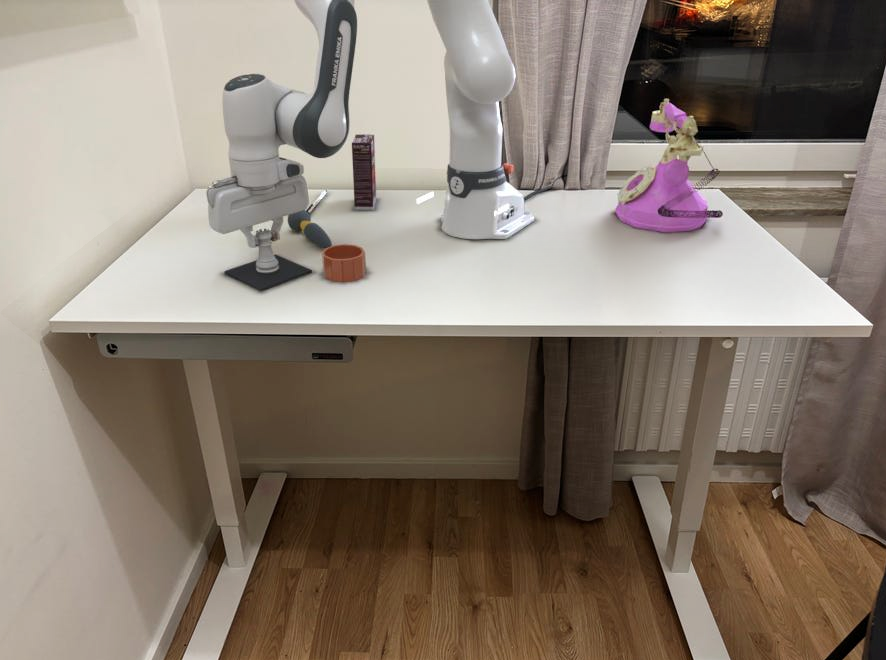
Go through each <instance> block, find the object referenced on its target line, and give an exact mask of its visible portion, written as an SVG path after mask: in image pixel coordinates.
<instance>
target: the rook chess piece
mask: <svg viewBox="0 0 886 660" xmlns="http://www.w3.org/2000/svg"><path fill="white" fill-rule="evenodd" d="M270 230H271V229H269V228H263V229H262V228H259V229H256V231H255V233H256V234H255V235H254V236H255V237H258V238H259V243H260V246H258V247H257V248H258V257H257V259H256V260H257V262H256V266H257V268H256V270H257V271H258V272H259V273H261V274H271V273H275V272H276V271H277V270H278V269H279V266H278V260H277V259H275V256H274V254H275V253H274V251H273V249H272V244H273V241H270V239H271V237H272V234H271V233H270Z"/></svg>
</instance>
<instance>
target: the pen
mask: <svg viewBox="0 0 886 660" xmlns="http://www.w3.org/2000/svg"><path fill="white" fill-rule="evenodd" d="M327 191H328V190H327V189H325V190H323V191H322V192H321V193H320V194H319V195H318V197H317V198H316V199H315V200H314V201H313V203H311V204H310V205H309V206H308V207H307V208H306V210H305V211H307V212H308V214H309V215H310V214H311V212H312V211H314V209H315V208H316V206H317V205H318V204H319V203H320V202H321V200H323V198H324V197H325V196H326V194H327Z"/></svg>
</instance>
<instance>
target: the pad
mask: <svg viewBox="0 0 886 660" xmlns="http://www.w3.org/2000/svg"><path fill="white" fill-rule="evenodd" d="M273 254H274V256H275V259H277V260H278V266H279V269H278V270H277V271H276V272H275V273H271V274H261V273H259V272H258V271H257V270H256V268H257V266H256V262H257V259H255V260H253V261H250V262H248V263H244V264H242V265H238V266H236V267H233V268H230V269H227V270H224V275H226V276H228V277H230V278H231V279H234V280H235V281H239V282H241V283H243V285H244V284H245V285H247V286H249V287H251V288H252V289H254V290H257V291H259V292H264V291H266V290H269V289H272V288H275V287H278V286H281V285H283V284H285V283H288V282H292V281H294V280H297V279H299V278H302V277H304V276H307V275H310V274H313V269H311V268H308V267H307V266H304V265H301V264H298V263H296V262H295V261H292V260H289V259H287V258H285V257H284V256H283V257H282V256H281V255H279V254H276V253H273Z"/></svg>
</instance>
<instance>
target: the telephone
mask: <svg viewBox="0 0 886 660" xmlns="http://www.w3.org/2000/svg"><path fill="white" fill-rule="evenodd" d="M694 117H695V116H693V115H689V116H688V115H687V113H686V112H685V111H683V110H681V109H680V108H677V106H676V105H674V104H673V103H671V102H670V99H669V98H664V99H663V102H660V105H659V110H654V111H652V114H651V119H650V124H649V129H650V131H652V132H656V133H665V140H666V142H667V144H668V145H667V147H666V148H665V150H664V152H663V153H662V156H661V158H660V160H659V162H658V164H657V165H656V166H655V167H654V166H653V165H651V164H649V165H647V166H645V167H643V168H641V169H639V170H637V171H636V172H634V173H633V175H632V176H630V177H629V178H627V180H626V181H625V182H624V183H623V185H622V186H621V187H620V189H619V191H618V192H617V201H618V203H617V205H616V208H615V214H616V216H617V218H618V219H619V221H620V222H622V223H624V224H627V225H629V226H631V227H633V228H635V229H636V228H637V229H643V230H648V231H653V232H661V233H679V232H691V231H694V230H697V229H700V228H701V227H702V226H703V225H704V224H705V223H706V222H707V220H708V219H711V218H712V219H718V218H719V219H720V218H722V216H723V215H724V212H723V211H722V210H720V209H719V210H715V209H714V210H708V208H709V206H708V203H707V201H706V199H705V198H704V197H703V196H702V195H701V194H700V193H699V191H700V190H702V189H703V186H704V187H706V186H707V185H708V184H711V183H710V182H712V181H713V180H714V179H715V178H717V176H718V174H720V170H719V169H718V168H714V166H713V165H712V163H711V161H710V160H709V158H708V156H707V154H706V152H705V151H704V146H703V145H701V143H700V141H699V139H698V137H697V133H698V132H699V130H698V125H697V121H696V120H695V119H694ZM673 131H675V133H677V134H676V135H670V133H671V132H673ZM694 136H695V137H696V138H695V137H694ZM702 153H703V154H704V155H705V158H706V159H707V161H708V163H709V165H710V167H711V168H712V169H711V170H710V172H708V174H707V175H706V176H705V177H704V178H701V180H699V181H698V182H696V184H695V185H694V186H693V185H692V183H691V182H690V180H689V176H690V167H689V165H688V161H689V160H690V158H692V157H697V156H701V155H702ZM697 187H698V188H697ZM695 188H697V189H695Z"/></svg>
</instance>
